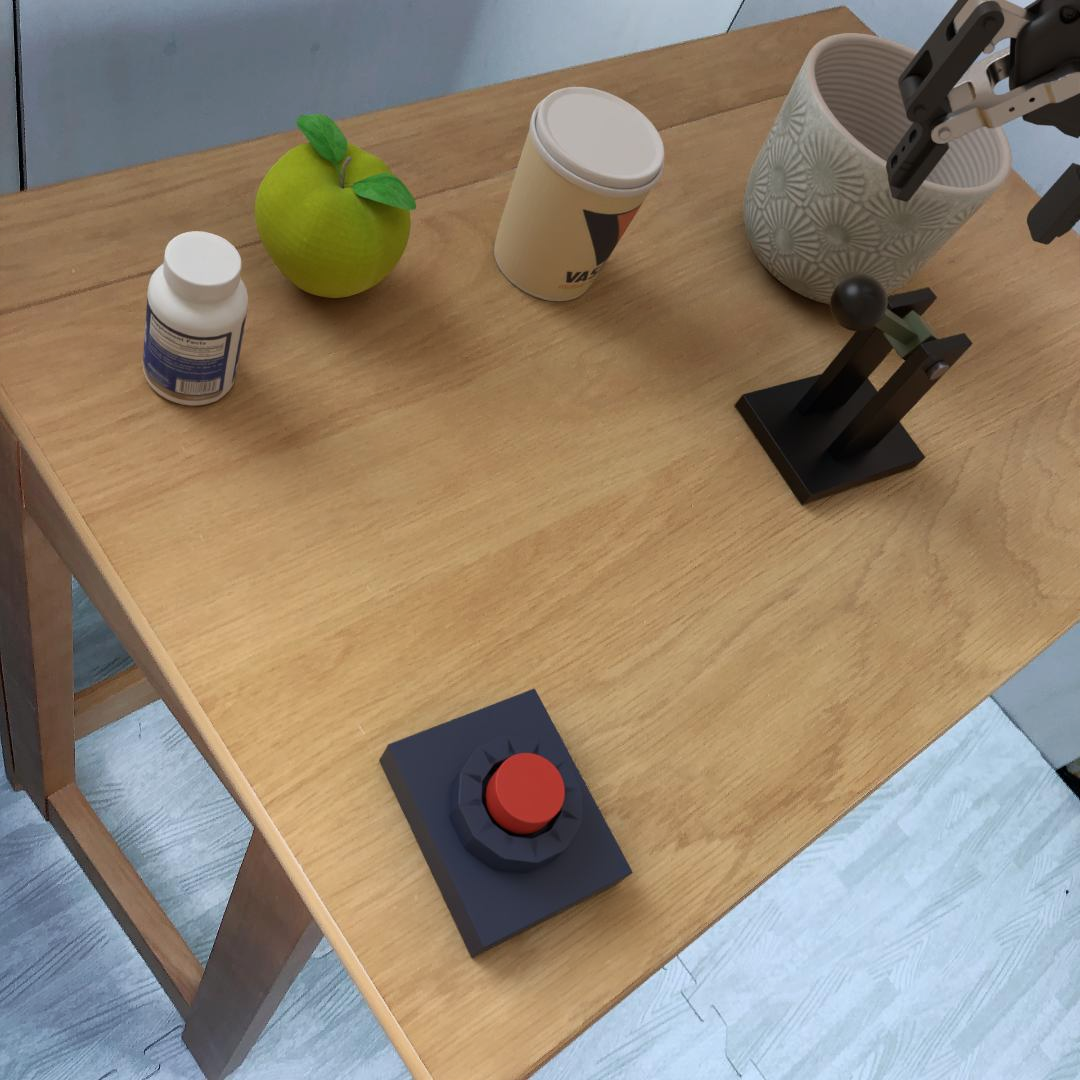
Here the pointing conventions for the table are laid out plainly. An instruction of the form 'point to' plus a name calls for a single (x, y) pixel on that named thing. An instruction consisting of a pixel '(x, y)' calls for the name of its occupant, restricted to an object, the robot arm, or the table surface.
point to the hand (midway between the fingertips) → (967, 211)
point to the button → (525, 793)
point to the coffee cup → (575, 191)
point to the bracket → (850, 411)
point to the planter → (857, 175)
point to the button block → (480, 842)
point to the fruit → (332, 213)
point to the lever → (878, 314)
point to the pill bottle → (195, 319)
